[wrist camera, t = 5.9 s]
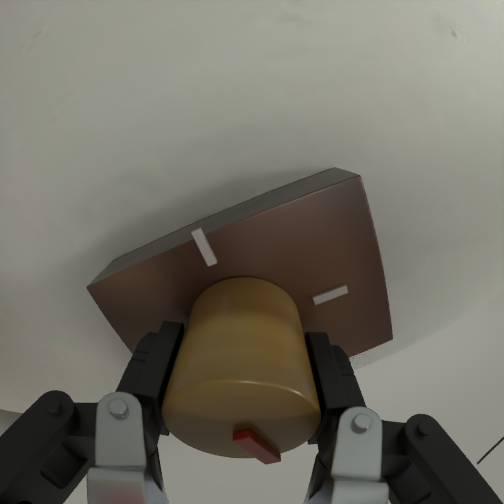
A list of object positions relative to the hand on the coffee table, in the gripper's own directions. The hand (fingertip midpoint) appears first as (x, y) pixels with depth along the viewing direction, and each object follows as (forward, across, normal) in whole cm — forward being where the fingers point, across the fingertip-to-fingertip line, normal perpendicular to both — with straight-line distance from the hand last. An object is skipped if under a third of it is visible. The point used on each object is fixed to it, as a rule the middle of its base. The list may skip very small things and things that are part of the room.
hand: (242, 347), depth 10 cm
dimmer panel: (+4, 0, 0) cm, 4 cm away
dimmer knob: (+1, 0, 0) cm, 1 cm away
